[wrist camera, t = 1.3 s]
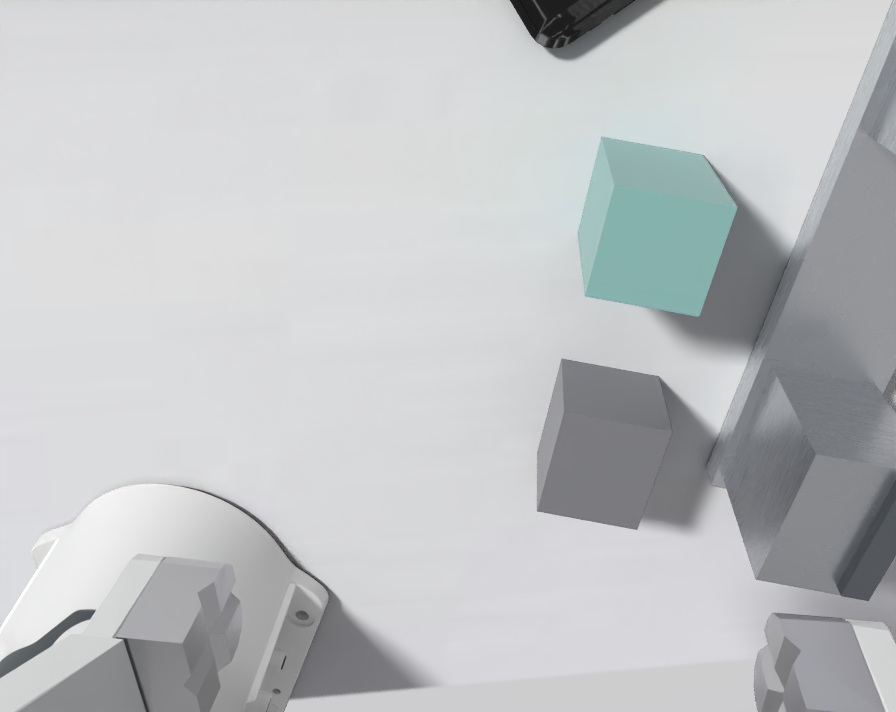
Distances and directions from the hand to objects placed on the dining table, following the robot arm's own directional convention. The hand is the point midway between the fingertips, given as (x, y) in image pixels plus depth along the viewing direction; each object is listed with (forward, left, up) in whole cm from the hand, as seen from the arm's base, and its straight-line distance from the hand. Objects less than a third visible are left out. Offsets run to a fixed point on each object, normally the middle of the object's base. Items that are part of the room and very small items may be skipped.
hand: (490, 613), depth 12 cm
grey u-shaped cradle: (-2, -16, -27) cm, 31 cm away
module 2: (-13, -6, -27) cm, 30 cm away
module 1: (-1, -5, -27) cm, 27 cm away
